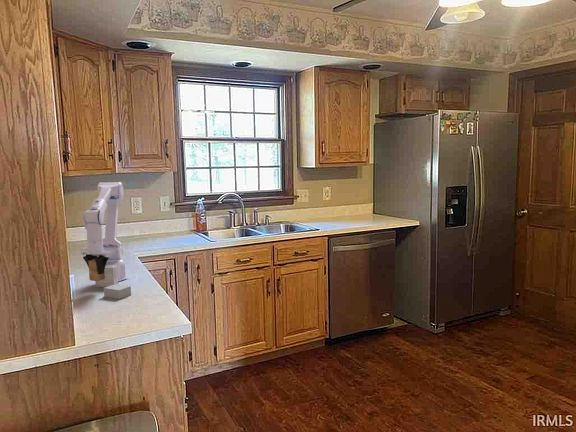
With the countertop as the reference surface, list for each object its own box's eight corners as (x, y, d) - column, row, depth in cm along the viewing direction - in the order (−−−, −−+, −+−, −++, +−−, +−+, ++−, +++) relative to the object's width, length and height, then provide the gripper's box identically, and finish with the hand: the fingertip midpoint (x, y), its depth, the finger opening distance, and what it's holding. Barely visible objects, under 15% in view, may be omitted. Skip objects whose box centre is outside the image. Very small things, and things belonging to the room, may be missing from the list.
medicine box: (118, 284, 187) (117, 264, 186) (114, 287, 183) (113, 267, 182) (99, 284, 187) (98, 264, 186) (95, 287, 182) (94, 267, 181)
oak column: (97, 277, 177) (96, 258, 176) (104, 278, 175) (103, 259, 174) (89, 280, 174) (88, 260, 172) (96, 281, 172) (95, 261, 171)
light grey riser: (116, 292, 175) (115, 284, 175) (131, 294, 172) (130, 286, 172) (104, 296, 170) (103, 287, 169) (119, 299, 167) (119, 290, 166)
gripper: (73, 240, 172) (75, 273, 174) (100, 242, 166) (102, 277, 168) (88, 237, 178) (90, 269, 180) (114, 239, 172) (116, 273, 174)
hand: (97, 273), depth 174 cm, fingers closed on oak column, 4 cm apart
